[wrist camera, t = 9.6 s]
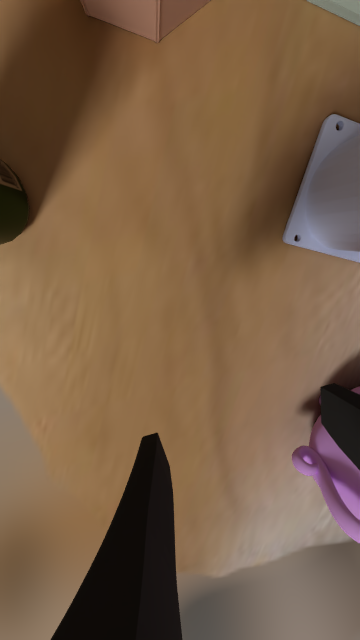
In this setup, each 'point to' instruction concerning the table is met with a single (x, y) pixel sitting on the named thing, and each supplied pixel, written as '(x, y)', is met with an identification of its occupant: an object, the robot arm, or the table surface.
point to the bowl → (143, 14)
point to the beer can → (11, 205)
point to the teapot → (332, 476)
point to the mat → (341, 8)
